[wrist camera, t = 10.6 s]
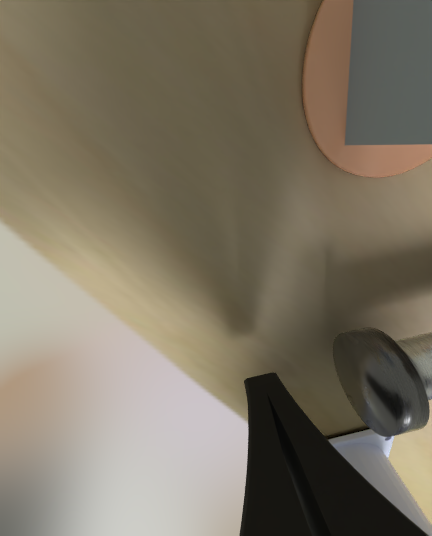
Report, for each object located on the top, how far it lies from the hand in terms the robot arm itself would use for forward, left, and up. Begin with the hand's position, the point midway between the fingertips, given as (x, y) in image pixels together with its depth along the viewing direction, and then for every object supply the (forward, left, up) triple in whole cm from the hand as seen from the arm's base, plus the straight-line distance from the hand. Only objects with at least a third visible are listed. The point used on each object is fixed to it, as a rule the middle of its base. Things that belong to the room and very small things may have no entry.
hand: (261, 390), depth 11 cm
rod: (0, -8, -1) cm, 8 cm away
